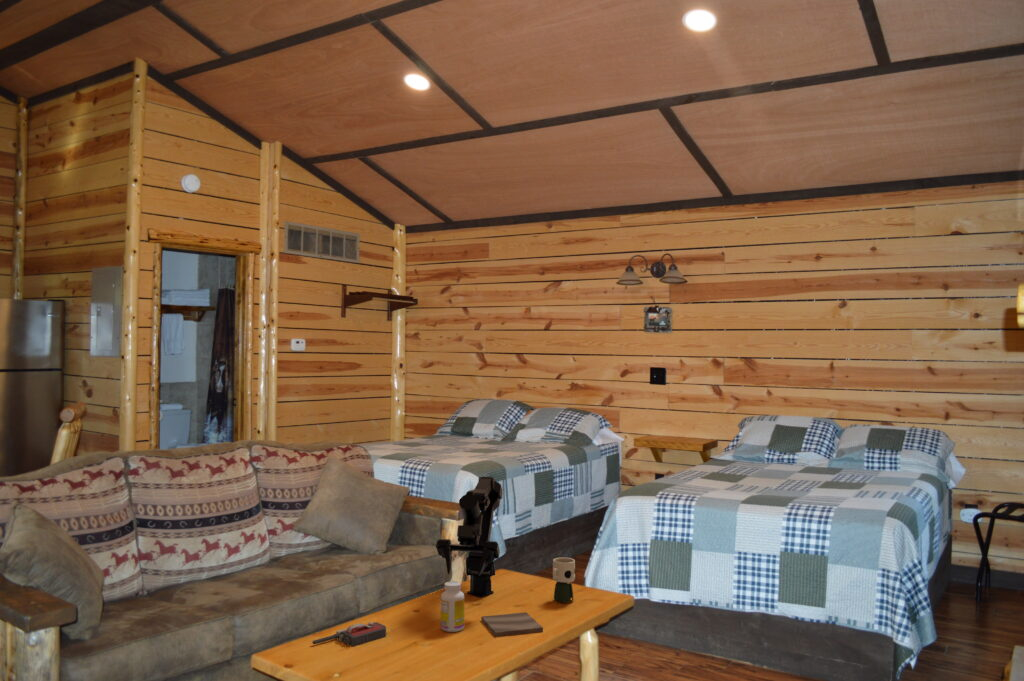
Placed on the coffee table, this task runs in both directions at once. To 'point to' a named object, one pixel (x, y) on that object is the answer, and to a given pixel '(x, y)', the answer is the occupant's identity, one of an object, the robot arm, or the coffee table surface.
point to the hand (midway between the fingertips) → (463, 574)
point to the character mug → (563, 578)
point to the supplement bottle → (452, 607)
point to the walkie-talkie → (357, 634)
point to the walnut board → (511, 624)
